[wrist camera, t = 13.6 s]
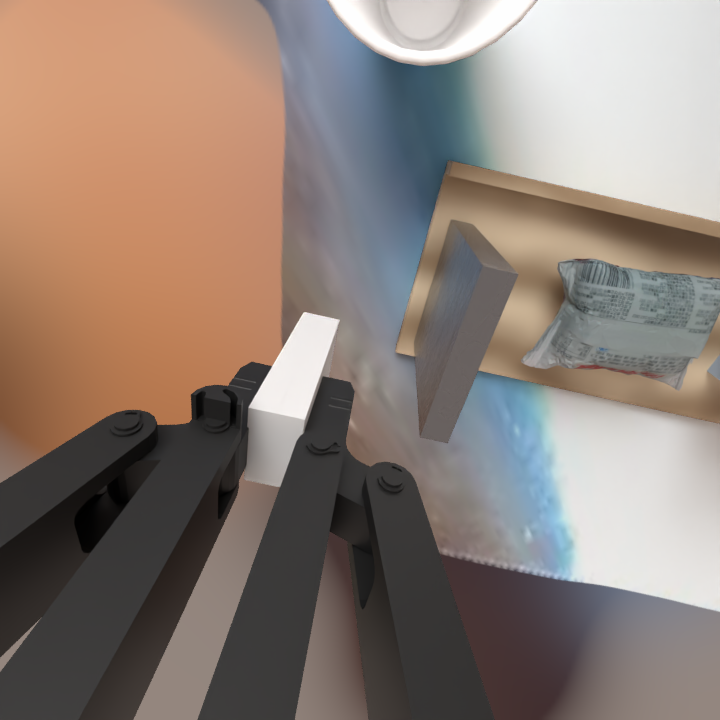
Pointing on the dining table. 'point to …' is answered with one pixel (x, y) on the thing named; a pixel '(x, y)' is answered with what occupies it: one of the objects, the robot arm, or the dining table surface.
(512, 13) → the cup
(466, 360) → the bookend
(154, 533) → the robot arm
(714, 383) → the wooden book rack
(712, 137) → the dining table surface
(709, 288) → the packaged food
